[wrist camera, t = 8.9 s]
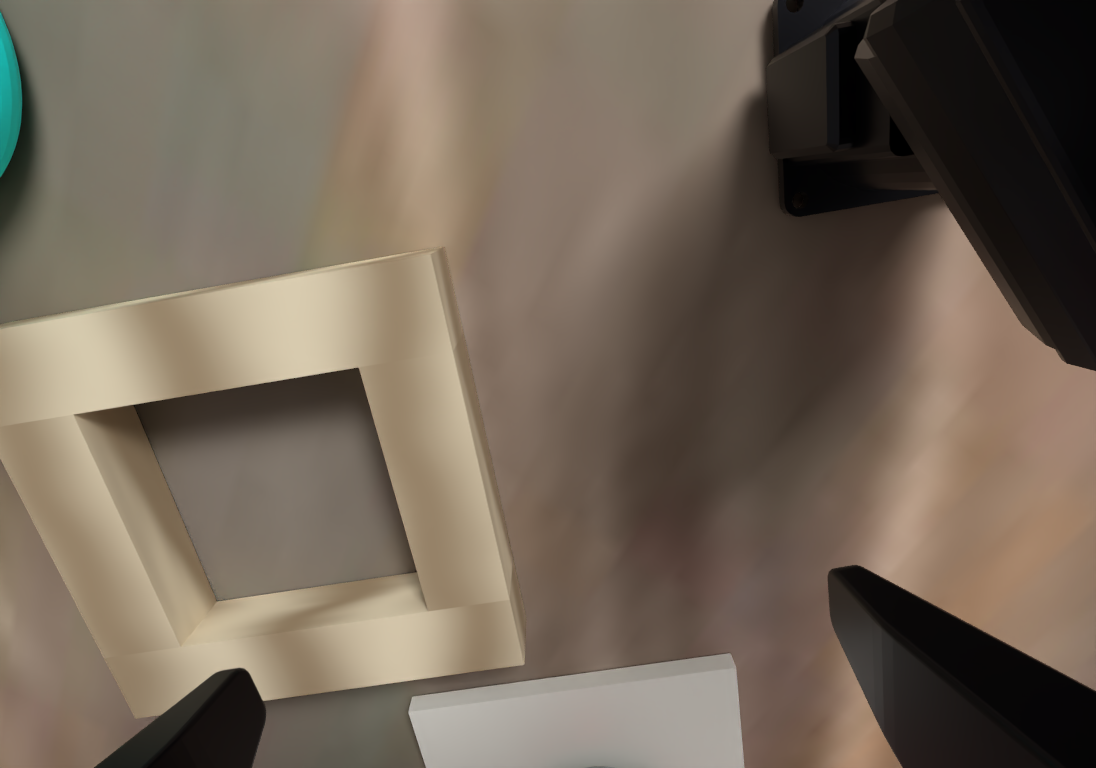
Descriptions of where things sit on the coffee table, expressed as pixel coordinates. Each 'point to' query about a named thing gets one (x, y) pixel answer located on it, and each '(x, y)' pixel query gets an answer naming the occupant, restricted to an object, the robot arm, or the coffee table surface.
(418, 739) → the white pad
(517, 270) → the coffee table surface
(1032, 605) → the coffee table surface
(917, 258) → the coffee table surface
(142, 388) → the can holder
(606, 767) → the soda can
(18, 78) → the donuts
